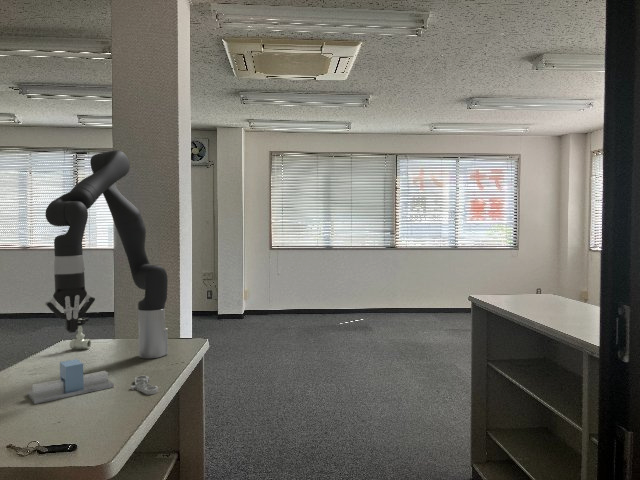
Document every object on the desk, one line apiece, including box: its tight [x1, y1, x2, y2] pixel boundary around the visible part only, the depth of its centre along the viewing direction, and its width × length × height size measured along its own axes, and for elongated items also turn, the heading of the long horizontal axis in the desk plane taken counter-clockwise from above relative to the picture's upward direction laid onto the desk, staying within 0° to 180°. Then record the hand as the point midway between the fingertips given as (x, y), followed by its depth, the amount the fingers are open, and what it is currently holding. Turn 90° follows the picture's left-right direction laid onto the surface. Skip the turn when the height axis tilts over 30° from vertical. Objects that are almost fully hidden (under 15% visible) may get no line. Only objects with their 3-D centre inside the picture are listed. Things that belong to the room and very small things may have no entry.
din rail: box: [27, 370, 115, 405], centre depth 133 cm, size 20×10×4 cm, turn 131°
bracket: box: [130, 374, 159, 396], centre depth 136 cm, size 8×2×15 cm
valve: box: [69, 316, 92, 350], centre depth 181 cm, size 7×7×12 cm
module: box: [59, 358, 84, 392], centre depth 133 cm, size 4×7×7 cm
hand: (71, 332), depth 133 cm, fingers closed
